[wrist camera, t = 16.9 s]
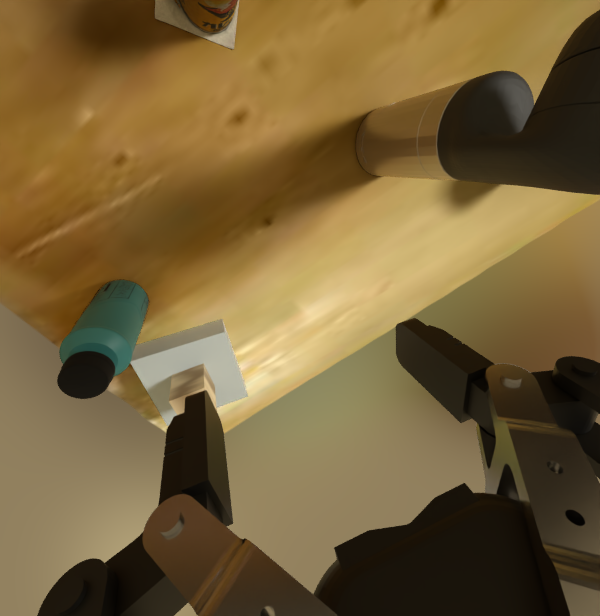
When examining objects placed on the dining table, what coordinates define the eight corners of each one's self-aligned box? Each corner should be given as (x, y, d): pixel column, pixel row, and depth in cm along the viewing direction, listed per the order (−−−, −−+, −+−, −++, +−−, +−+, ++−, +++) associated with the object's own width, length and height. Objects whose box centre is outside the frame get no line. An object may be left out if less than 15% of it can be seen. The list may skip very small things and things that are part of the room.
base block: (222, 317, 49) (224, 331, 45) (243, 378, 56) (247, 396, 52) (135, 343, 46) (129, 361, 42) (169, 404, 53) (167, 425, 49)
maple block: (203, 363, 46) (204, 387, 41) (214, 385, 49) (216, 411, 43) (171, 375, 45) (168, 401, 40) (184, 397, 48) (183, 425, 43)
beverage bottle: (115, 265, 40) (57, 338, 23) (161, 290, 44) (139, 370, 27) (91, 301, 41) (17, 396, 24) (137, 323, 45) (101, 420, 28)
